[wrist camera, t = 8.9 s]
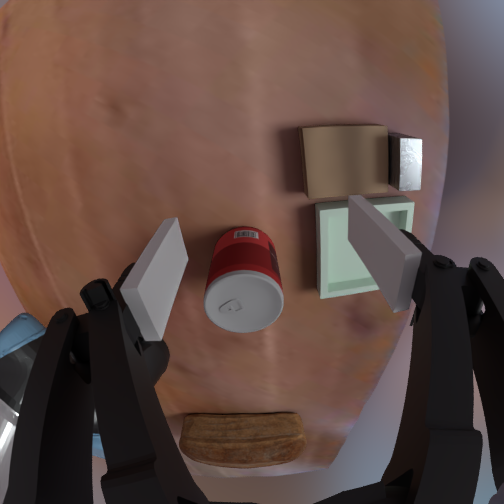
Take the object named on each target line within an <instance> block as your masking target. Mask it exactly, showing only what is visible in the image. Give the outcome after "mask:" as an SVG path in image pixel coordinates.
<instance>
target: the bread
mask: <svg viewBox="0 0 504 504" xmlns="http://www.w3.org/2000/svg"><path fill="white" fill-rule="evenodd" d="M179 447H180V449H181V451H182V453H184V454H185V455H186V456H187V457H189V458H190V459H192V460H194V461H197V462H200V463H204V464H208V465H213V466H220V467H229V468H257V467H265V466H272V465H278V464H283V463H288V462H290V461H293V460H294V459H296V458H298V457H299V456H300V455H301V454H302V453H303V451H304V449H305V448H306V438H305V434H304V428H303V424H302V421H301V418H300V416H299V415H298V414H297V413H283V412H282V413H274V414H256V415H253V414H239V415H210V414H192V415H188V416H187V417H185V418H184V423H183V427H182V433H181V438H180V441H179Z"/></svg>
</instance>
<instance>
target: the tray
mask: <svg viewBox="0 0 504 504" xmlns="http://www.w3.org/2000/svg"><path fill="white" fill-rule="evenodd" d="M366 200H367V201H368V202H369V203H371V204H372V205H373V206H374V207H375V208H376V209H377V210H378V211H380V212H381V213H382V214H383V215H384V216H385V217H386V218H387V219H388V220H389V221H390V222H391V223H393V224H394V225H395V226H396V227H397V228H398V229H404V230H406V231H408V232H410V233H411V230H412V222H413V212H414V202H413V201H412V200H411V199H409V198H408V197H406V196H396V197H381V198H368V199H366ZM315 214H316V246H317V290H318V293H319V296H320V299H323V298H330V297H337V296H343V295H349V294H355V293H361V292H367V291H373V290H378V289H379V287H378V286H377V284H376V282H375V281H374V279H373V278H372V276H371V274H370V273H369V271H368V270H367V268H366V267H365V265H364V263H363V262H362V260H361V259H360V257H359V256H358V254H357V253H356V251H355V250H354V248H353V247H352V245H351V244H350V242H349V241H348V200H344V201H334V202H323V203H315Z"/></svg>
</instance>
